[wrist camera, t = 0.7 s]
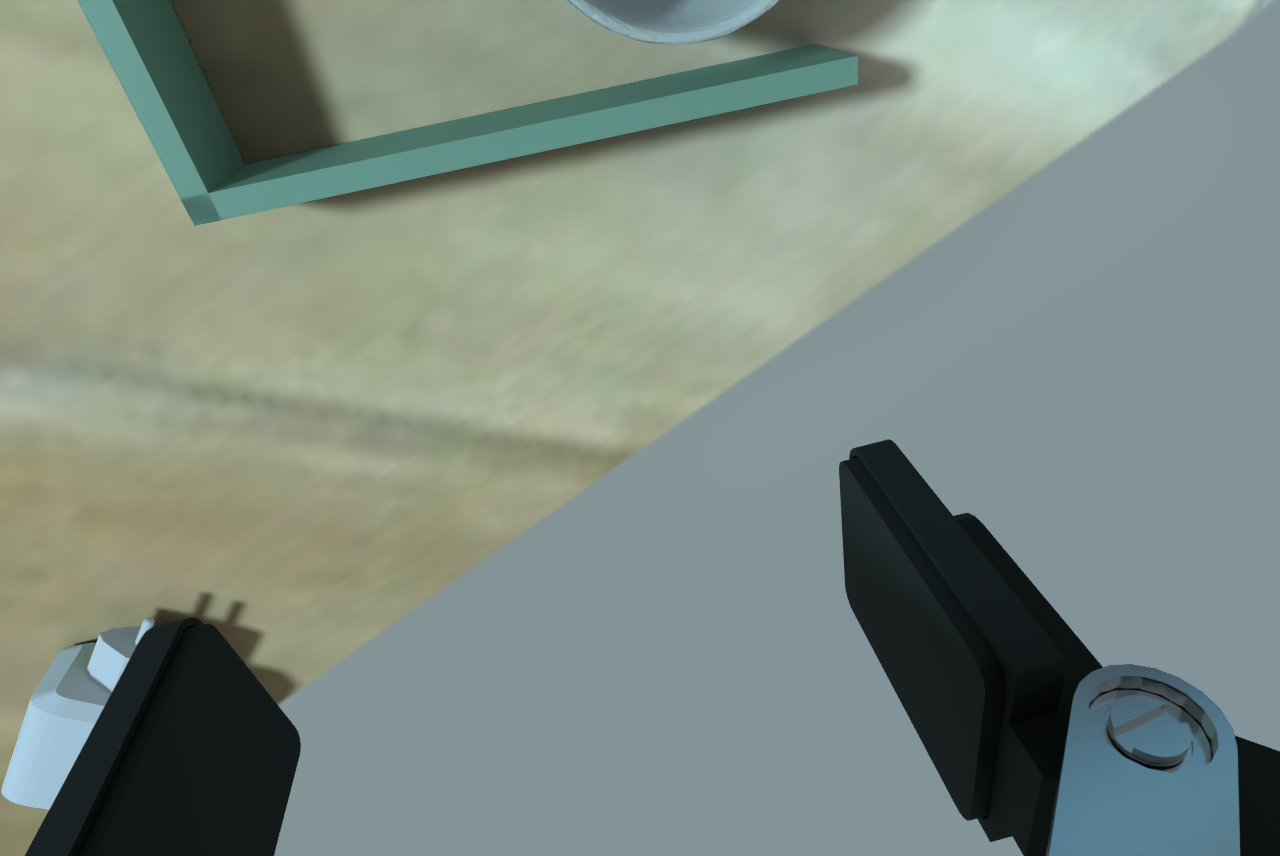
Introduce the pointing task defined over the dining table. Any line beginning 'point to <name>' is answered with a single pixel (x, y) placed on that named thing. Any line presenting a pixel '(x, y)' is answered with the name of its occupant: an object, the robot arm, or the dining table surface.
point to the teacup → (673, 18)
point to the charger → (66, 714)
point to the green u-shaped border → (227, 187)
